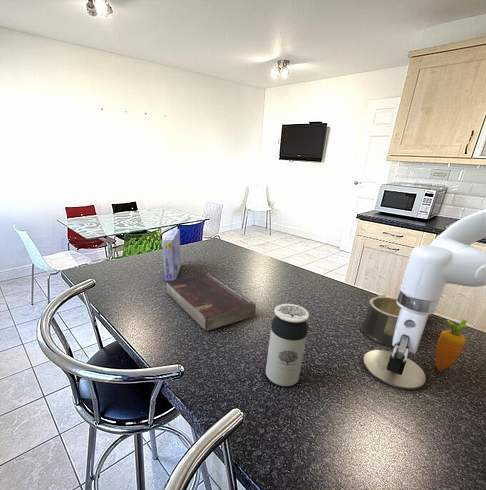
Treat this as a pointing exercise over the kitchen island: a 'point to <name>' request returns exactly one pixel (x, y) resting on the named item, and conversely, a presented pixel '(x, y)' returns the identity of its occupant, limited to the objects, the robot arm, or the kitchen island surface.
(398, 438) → the kitchen island surface
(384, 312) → the pot
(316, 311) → the kitchen island surface
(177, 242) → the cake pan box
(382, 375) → the pot lid
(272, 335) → the travel mug
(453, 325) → the carrot
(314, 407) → the kitchen island surface
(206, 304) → the hardback book
